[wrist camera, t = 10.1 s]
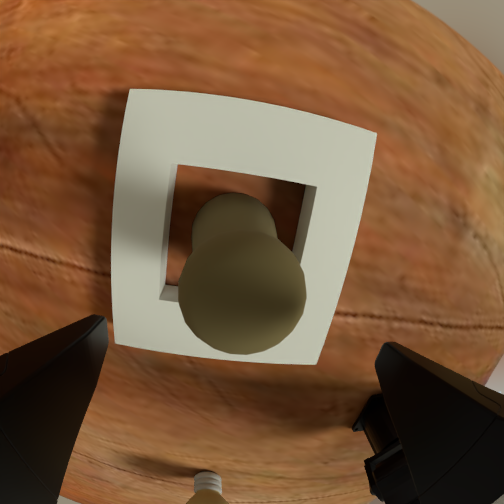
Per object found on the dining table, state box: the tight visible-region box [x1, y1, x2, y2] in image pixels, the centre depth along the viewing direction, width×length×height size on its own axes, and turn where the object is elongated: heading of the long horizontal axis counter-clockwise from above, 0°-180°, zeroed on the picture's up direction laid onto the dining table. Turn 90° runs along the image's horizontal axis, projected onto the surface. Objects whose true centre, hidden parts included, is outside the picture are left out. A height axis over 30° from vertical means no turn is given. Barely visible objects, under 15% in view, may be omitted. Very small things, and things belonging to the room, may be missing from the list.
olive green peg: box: [178, 193, 307, 355], centre depth 15 cm, size 6×6×11 cm
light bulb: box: [186, 472, 229, 504], centre depth 26 cm, size 6×6×10 cm
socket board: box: [111, 89, 377, 365], centre depth 19 cm, size 18×16×2 cm
